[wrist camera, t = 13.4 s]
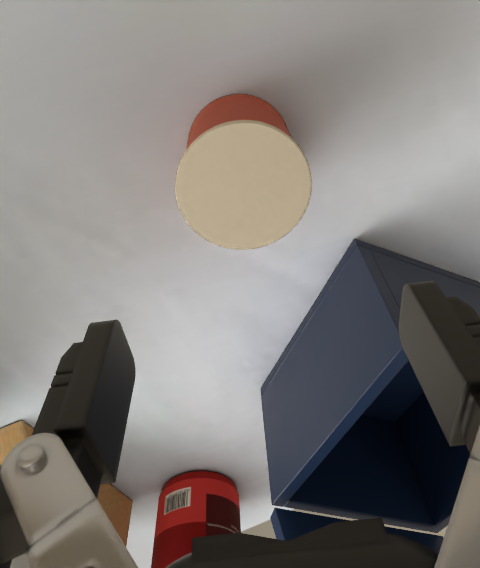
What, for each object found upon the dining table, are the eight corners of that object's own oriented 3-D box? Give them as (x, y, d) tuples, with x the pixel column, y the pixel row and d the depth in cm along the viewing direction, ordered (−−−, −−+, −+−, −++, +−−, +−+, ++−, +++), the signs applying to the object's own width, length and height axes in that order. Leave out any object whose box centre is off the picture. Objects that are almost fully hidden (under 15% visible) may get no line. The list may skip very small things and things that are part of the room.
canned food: (151, 506, 45) (135, 641, 36) (171, 462, 41) (158, 603, 32) (223, 516, 47) (225, 647, 38) (250, 475, 43) (258, 612, 34)
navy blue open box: (354, 238, 28) (405, 343, 20) (513, 293, 31) (608, 403, 23) (260, 388, 35) (271, 505, 28) (394, 421, 39) (437, 533, 31)
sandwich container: (22, 417, 36) (-75, 648, 24) (136, 501, 45) (105, 705, 32) (-54, 450, 38) (-179, 678, 26) (67, 524, 47) (15, 724, 35)
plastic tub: (204, 69, 22) (201, 99, 17) (313, 114, 23) (336, 153, 19) (169, 177, 25) (158, 227, 20) (267, 211, 26) (277, 264, 22)
